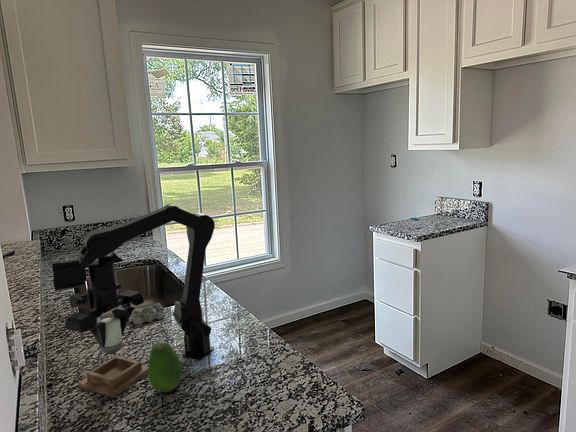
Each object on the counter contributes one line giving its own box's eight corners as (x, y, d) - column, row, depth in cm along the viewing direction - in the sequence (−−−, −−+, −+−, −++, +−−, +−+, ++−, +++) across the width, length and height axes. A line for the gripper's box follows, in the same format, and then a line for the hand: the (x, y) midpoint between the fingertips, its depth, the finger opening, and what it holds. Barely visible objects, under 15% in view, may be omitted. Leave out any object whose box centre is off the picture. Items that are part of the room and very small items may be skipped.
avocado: (144, 390, 94) (139, 344, 92) (174, 376, 99) (169, 332, 97) (160, 405, 88) (154, 356, 86) (191, 389, 94) (186, 342, 92)
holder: (151, 370, 102) (149, 360, 102) (113, 397, 92) (112, 386, 91) (117, 361, 108) (116, 351, 107) (78, 386, 97) (76, 375, 96)
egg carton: (134, 327, 129) (132, 315, 128) (129, 319, 135) (128, 307, 135) (166, 318, 135) (165, 307, 134) (161, 311, 141) (160, 300, 140)
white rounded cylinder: (127, 344, 99) (124, 318, 98) (110, 354, 95) (107, 327, 94) (113, 341, 102) (110, 315, 100) (96, 350, 97) (92, 324, 96)
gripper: (111, 267, 107) (118, 321, 110) (44, 291, 90) (54, 354, 93) (142, 271, 102) (148, 327, 105) (77, 297, 86) (87, 363, 88)
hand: (111, 341), depth 98 cm, fingers closed on white rounded cylinder, 5 cm apart
